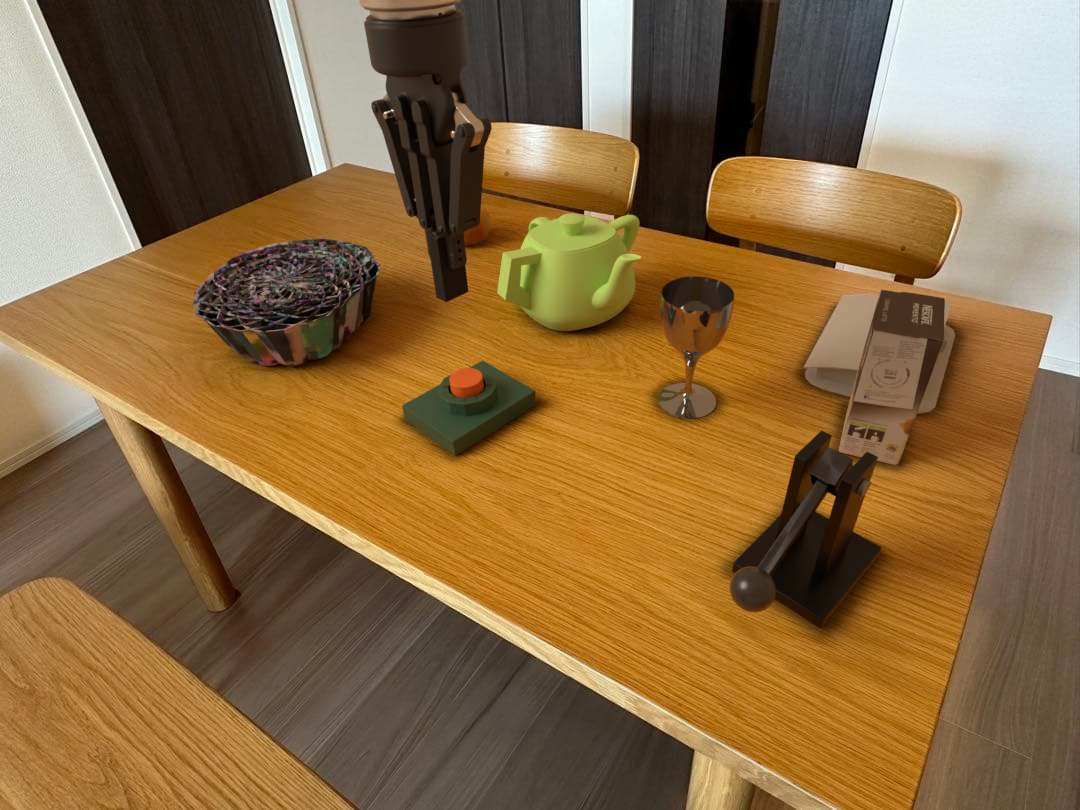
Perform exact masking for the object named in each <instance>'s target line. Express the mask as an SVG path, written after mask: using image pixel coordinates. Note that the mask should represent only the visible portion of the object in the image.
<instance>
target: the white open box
mask: <svg viewBox="0 0 1080 810" xmlns="http://www.w3.org/2000/svg"><path fill="white" fill-rule="evenodd" d="M879 294H880V293H851V294H842V296H841V297H840V299H839V301H838V303H837V304H836V307H835V309H834V310H833V312H832V314H831V316H830V317H829V318H828V321H827V323H826V325H825V326H824V329H823V331H822V332H821V334H820V336H819V338H818V339H817V341H816V343H815V345H814V347H813V349H812V350H811V353H810V354H809V356H808V358H807V360H806V362H805V364H804V365H803V369H806V370H805V371H804V376H805V380H807V382H809V384H810V385H812V386H814V387H816V388H819V389H821V390H823V391H826V392H829V393H830V392H831V393H834V394H838V395H840V396H845V397H848V398H851V394H852V390H853V386H854V383H855V379H856V376H857V372H858V368H859V364H860V361H861V357H862V354H863V350H864V346H865V343H866V339H867V336H868V332H869V329H870V325H871V322H872V318H873V315H874V311H875V308H876V304H877V301H878V298H879ZM952 303H953V302H950V301H945V310H944V342H943V344H942V346H941V349H940V352H939V355H938V357H937V360H936V363H935V366H934V369H933V371H932V374H931V377H930V380H929V382H928V385H927V388H926V391H925V393H924V396H923V399H922V401H921V404H920V407H919V410H918V412H917V415H918V414H919V415H920V414H925V413H926V414H927V413H931V412H932V411H933V410H934V408H936V406H937V402H938V399H939V395H940V392H941V389H942V384H943V381H944V377H945V374H946V370H947V366H948V363H949V360H950V357H951V352H952V348H953V345H954V341H955V338H956V332H955V330H954V329H953V328H951V327H950V326H949V325H947V320H948V317H949V314H950V310H951V306H952Z"/></svg>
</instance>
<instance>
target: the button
mask: <svg viewBox="0 0 1080 810" xmlns="http://www.w3.org/2000/svg"><path fill="white" fill-rule="evenodd" d="M450 375H451V376H450V378H449V381H450V387H451V392H452V394H453V395H454V396H456V397H460V398H469V397H474V396H477V395H479V394H480V393H482V391H483V389H484V383H483V376H482V373H481V372H480V371H479V370H477V369H473V368H470V367H465V368H460V369H457V370H455V371H454V372H452V373H451V374H450Z"/></svg>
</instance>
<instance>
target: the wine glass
mask: <svg viewBox="0 0 1080 810" xmlns="http://www.w3.org/2000/svg"><path fill="white" fill-rule="evenodd" d="M660 293H661V294H660V295H661V296H660V320H661V327H662V331H663V334H664V338H665V340H666V341H667V342H668V344H669V345H670V347H672V348H673V350H675V351H676V353H678V354H679V355H680V357H681V358H682V360H683V362H684V368H685V382H679V383H674V384H673V383H672V384H670V385H667V386H666V387H664V388H663V389H662V390H661V391H660V392H659V394H658V397H657V402H658V404H659V406H660V408H661V409H662V410H663V411H664V412H666V413H667V414H669V415H671V416H674V417H675V418H680V419H681V418H682V419H698V418H699V419H700V418H703V417H706V416H708V415H709V414H711V413H712V412H713V411H714V410H716V407H717V398H716V396H715V394H714V393H713V392H712V391H710V390H709V389H708V388H707V387H705V386H703V385H699V384H695V383H693V379H694V374H695V371H696V367H697V364H698V362H699V361H700V360H701V359H702V358H703V357H704V356H706V355H707V354H709V353H710V352H712V351H714V350H715V349H716V348H717V347H718V346H719V345H720V344H721V343H722V341H723V340H724V338H725V336H726V334H727V331H728V329H729V326H730V323H731V320H732V315H733V309H734V303H735V292H734V290H733V288H732V287H731V286H730V285H728V284H727V283H725V282H723V281H721V280H719V279H716V278H712V277H707V276H698V275H697V276H692V275H691V276H684V277H679V278H675V279H673V280H670V281H668V282H667V283H666V284H665V285H664V286H663V287H662V289H661V292H660Z"/></svg>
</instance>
